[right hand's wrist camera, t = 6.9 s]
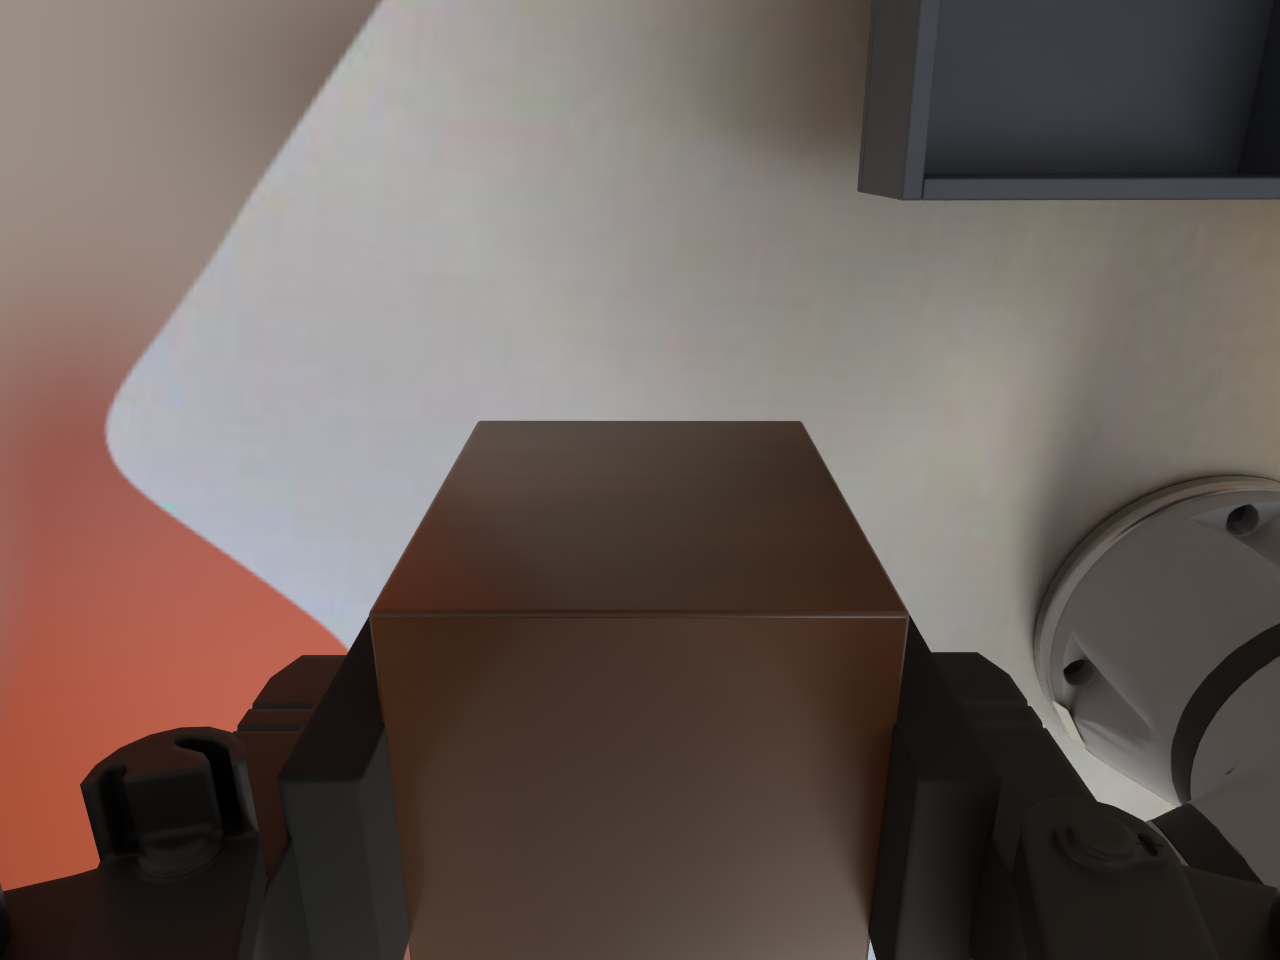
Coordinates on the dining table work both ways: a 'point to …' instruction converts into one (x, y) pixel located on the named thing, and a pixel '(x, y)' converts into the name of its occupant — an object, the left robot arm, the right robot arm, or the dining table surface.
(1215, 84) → the scoop
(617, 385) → the dining table surface
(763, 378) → the dining table surface
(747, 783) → the walnut block
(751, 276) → the dining table surface
